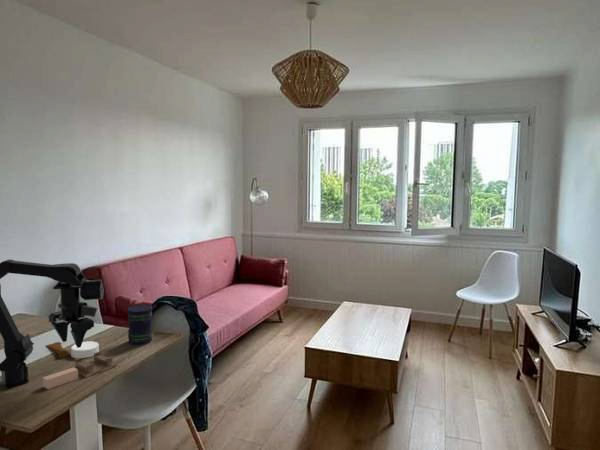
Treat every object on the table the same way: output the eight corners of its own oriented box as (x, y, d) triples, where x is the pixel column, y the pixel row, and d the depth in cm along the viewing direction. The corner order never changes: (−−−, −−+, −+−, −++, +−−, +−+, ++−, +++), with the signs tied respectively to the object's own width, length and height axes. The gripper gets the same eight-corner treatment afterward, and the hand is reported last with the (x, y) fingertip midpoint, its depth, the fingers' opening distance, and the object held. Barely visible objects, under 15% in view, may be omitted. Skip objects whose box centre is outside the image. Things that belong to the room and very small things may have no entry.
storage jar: (123, 343, 174) (122, 309, 173) (139, 336, 183) (138, 303, 182) (142, 347, 171) (141, 312, 170) (157, 339, 180) (157, 306, 179)
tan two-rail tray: (86, 377, 143) (85, 367, 143) (71, 369, 149) (71, 359, 148) (115, 366, 152) (115, 356, 152) (101, 359, 158) (100, 350, 157)
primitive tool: (45, 346, 171) (44, 338, 170) (59, 343, 175) (59, 335, 174) (59, 360, 157) (58, 352, 157) (74, 356, 161) (74, 348, 161)
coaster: (79, 361, 157) (79, 352, 156) (65, 355, 162) (65, 346, 162) (104, 352, 165) (103, 344, 165) (90, 347, 170) (90, 339, 170)
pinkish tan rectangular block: (47, 390, 134) (46, 380, 134) (43, 387, 136) (42, 377, 135) (78, 379, 142) (77, 369, 142) (74, 376, 144) (73, 367, 144)
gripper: (108, 299, 142) (109, 343, 143) (78, 291, 152) (80, 332, 153) (76, 307, 133) (77, 353, 134) (47, 298, 143) (48, 341, 144)
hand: (71, 344), depth 141 cm, fingers open, 9 cm apart
